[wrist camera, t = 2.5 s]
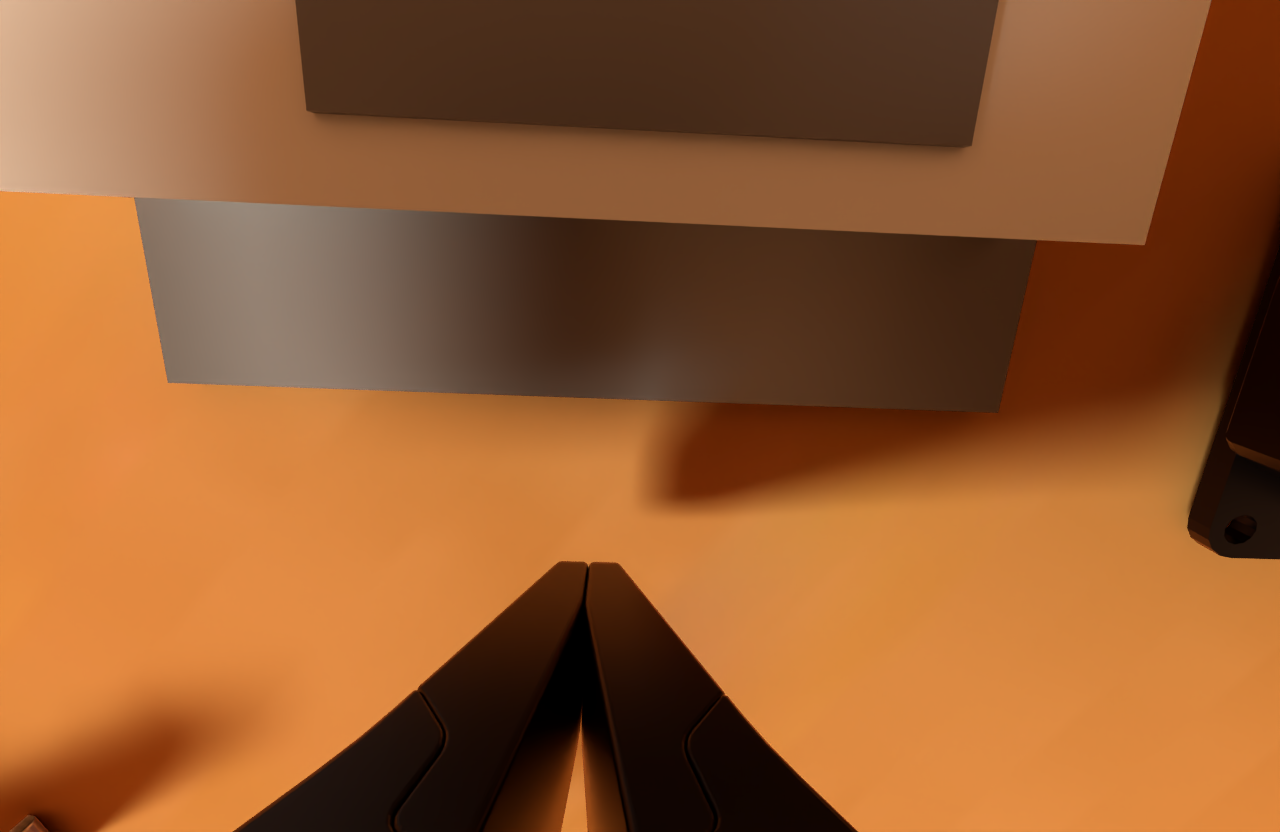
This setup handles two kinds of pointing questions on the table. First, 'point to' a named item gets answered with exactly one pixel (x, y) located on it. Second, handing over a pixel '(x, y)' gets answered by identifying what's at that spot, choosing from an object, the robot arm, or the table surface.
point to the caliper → (29, 825)
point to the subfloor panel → (580, 306)
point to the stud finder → (614, 108)
